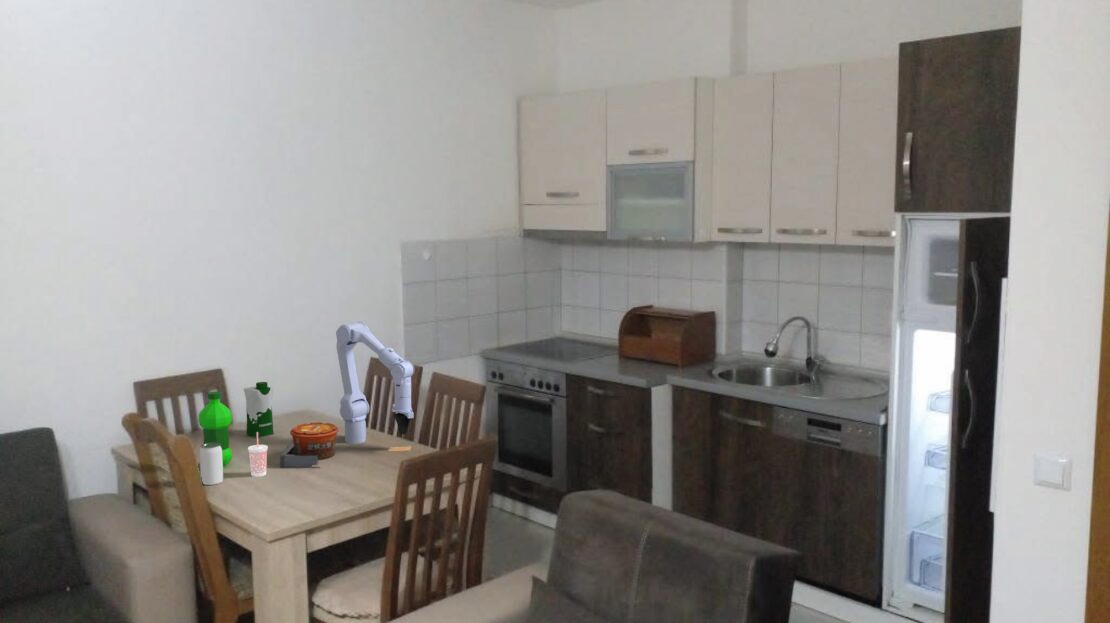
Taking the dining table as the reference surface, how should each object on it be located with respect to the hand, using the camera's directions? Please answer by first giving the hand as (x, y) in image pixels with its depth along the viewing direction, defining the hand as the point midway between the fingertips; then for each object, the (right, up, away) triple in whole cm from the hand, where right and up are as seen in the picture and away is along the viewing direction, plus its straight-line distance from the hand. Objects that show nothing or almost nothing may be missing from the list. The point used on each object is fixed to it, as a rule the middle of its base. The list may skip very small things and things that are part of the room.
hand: (403, 433), depth 307 cm
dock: (-32, -7, -7) cm, 33 cm away
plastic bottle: (-58, -9, -18) cm, 62 cm away
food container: (-29, -8, -7) cm, 31 cm away
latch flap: (-1, -6, +1) cm, 6 cm away
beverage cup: (-42, -10, -25) cm, 50 cm away
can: (-54, -11, -34) cm, 64 cm away
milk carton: (-58, -3, +22) cm, 62 cm away
